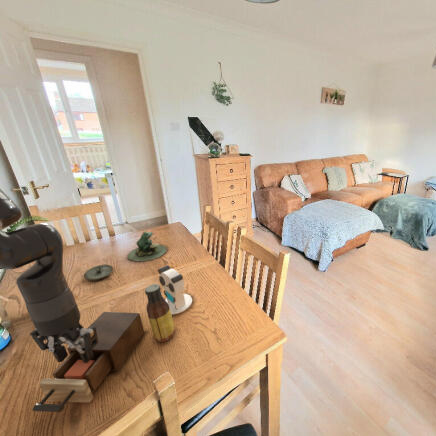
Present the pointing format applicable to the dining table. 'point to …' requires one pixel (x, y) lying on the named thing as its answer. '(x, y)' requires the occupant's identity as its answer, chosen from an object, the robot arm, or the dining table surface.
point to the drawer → (73, 383)
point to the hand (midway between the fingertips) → (75, 359)
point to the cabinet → (116, 335)
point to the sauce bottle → (159, 314)
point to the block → (79, 370)
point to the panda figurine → (174, 290)
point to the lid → (98, 272)
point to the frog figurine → (146, 249)
